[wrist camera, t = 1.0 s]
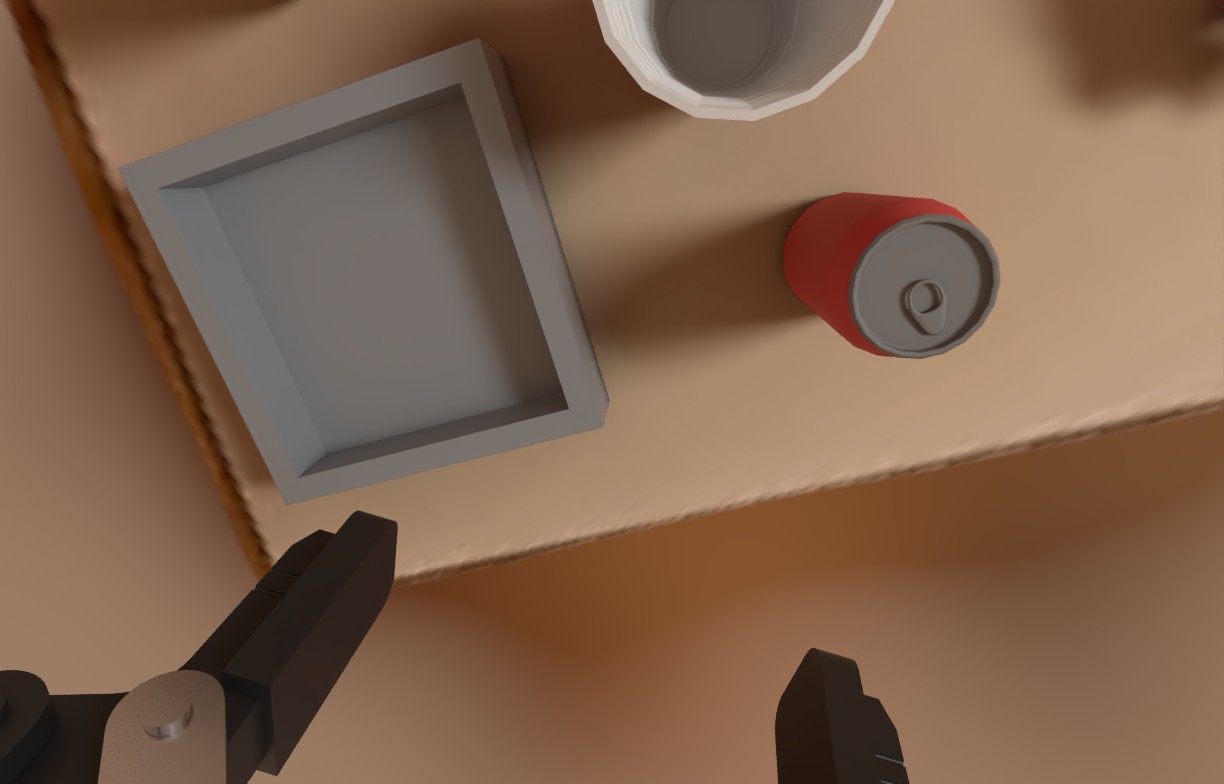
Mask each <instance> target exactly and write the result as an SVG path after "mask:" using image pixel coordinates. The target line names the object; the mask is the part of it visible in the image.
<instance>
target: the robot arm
mask: <svg viewBox="0 0 1224 784" xmlns="http://www.w3.org/2000/svg"><path fill="white" fill-rule="evenodd" d="M397 531H398V526H397V522H396V521H393V520H389V519H386V518H382V517H379V516H376V515H372V514H369V513H366V512H362V511H356V512H354V513H353V514H352V515H351V516H350V517H349V518H348V519H347V521H346V522H345V523H344V524H343V525H342V527H341V528H340V529H339V530H338V531H337V533H336V534H334V533H330V532H327V531H324V530H320V529H319V530H318V531H316V532H314V533H312V534H311V535H309V536H307V537H305V538H304V539H302V540H300V541H298V542H297V543H295V544H293V545H292V546H291V547H290V548H289V549H288V550H287V551H286V552H285V554H284V555H283V556H282V557H281V558H280V559H279V560H278V561H277V563H276V564H275V565H274V566H273V567H272V570H271V571H270V572H269V571H268V573H267V574H266V575H265V576H264V577H263V578H262V579H261V580H260V582H259V583H258V584H257V585H256V588H255V590H251V592H250V593H249V594H248V595H247V596H246V597H245V598H244V599H243V600H242V602H241V603H240V604H239V605H238V606H237V607H236V608H235V609H234V611H233V612H232V613H231V614H230V615H229V616H228V617H227V619H225V621H224V622H223V623H222V624H221V625H220V626H219V627H218V629H217V630H216V631H215V632H214V633H213V634H212V635H211V636H210V637H209V638H208V640H207V641H206V642H205V643H204V644H203V645H202V646H201V647H200V649H199V650H198V651H197V652H196V653H195V654H194V655H193V657H191V659H190V660H188V662H186V663H185V664H184V665H183V666H182V667H181V668H179V669H178V670H177V671H173V672H168V673H165V674H161V675H159V676H156V677H154V678H152V679H149V680H147V681H146V682H144V683H142V684H140V685H139V686H137V687H136V688H134V689H133V690H132V691H130V692H124V693H115V694H80V695H49V692H48V690H47V687H46V685H45V683H44V682H43V681H42V679H41V678H39V677H38V676H36V675H35V674H32V673H29V672H25V671H19V670H5V671H0V784H247V783H248V781H249V780H250V778H251V777H252V775H253V774H254V772H255V771H256V770H259V771H262V772H266V773H269V774H272V775H275V776H277V775H278V774H279V772H280V770H281V769H282V767H283V766H284V764H285V763H286V761H287V759H288V758H289V756H290V755H291V753H292V752H293V750H294V748H295V747H296V745H297V744H298V742H299V740H300V739H301V737H302V736H303V734H304V732H305V731H306V729H307V728H308V726H309V724H310V723H311V721H312V720H313V718H314V716H315V715H316V714H317V712H318V710H319V709H320V707H321V705H322V704H323V702H324V701H325V699H326V698H327V696H328V694H329V693H330V691H331V689H332V688H333V687H334V685H335V683H336V682H337V680H338V679H339V677H340V675H341V674H342V672H343V671H344V669H345V667H346V666H347V664H348V663H349V661H350V660H351V658H352V656H353V655H354V653H355V652H356V650H357V649H358V647H359V645H360V644H361V642H362V641H363V639H364V637H365V636H366V634H367V633H368V631H369V630H370V628H371V626H372V625H373V623H374V622H375V620H376V618H377V617H378V615H379V614H380V612H381V610H382V609H383V607H384V605H385V603H386V601H387V599H388V596H389V594H390V591H391V588H392V584H393V580H394V572H395V558H396V544H397ZM775 739H776V755H777V773H778V784H909V780H908V776H907V772H906V768H905V767H903V762H904V759H903V755H902V751H901V746H900V742H899V738H898V734H897V730H896V728H895V726H894V725H893V723H892V721H891V719H890V718H889V716H888V714H887V713H886V711H885V709H884V708H883V706H882V704H881V703H880V701H879V699H876V698H873V697H870V696H866V695H864V694H863V689H862V684H861V679H860V674H859V670H858V666H857V664H856V662H855V661H854V660H852V659H849V658H846V657H842V656H839V655H836V654H832V653H829V652H826V651H822V650H819V649H816V648H811V649H810V650H809V651H808V652H807V654H806V655H805V657H804V659H803V660H802V662H801V664H800V665H799V667H798V669H797V671H796V672H795V674H794V676H793V677H792V679H791V681H790V683H789V684H788V686H787V688H786V689H785V691H784V693H783V695H782V696H781V699H780V702H779V705H778V709H777V713H776V721H775Z"/></svg>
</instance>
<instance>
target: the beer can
mask: <svg viewBox="0 0 1224 784" xmlns="http://www.w3.org/2000/svg"><path fill="white" fill-rule="evenodd" d="M783 266H784V272H785V277H786V280H787V282H788V284H789V285H790V287H791V289H792V291H793V292H794V294H795V295H796V296H797V297H798V298H799V299H801V300H802V301H803V302H804V303H805V304H806V305H807V306H808V307H810V308H811V309H812V310H813V311H814V312H815V313H816V314H818V315H819V316H820V317H821V318H822V319H823V320H824V321H825V322H827V323H828V324H829V325H830V326H831V327H832V328H833V329H835V330H836V331H837V332H838V333H839V334H840V335H841V336H843V337H844V338H845V339H846V340H847V341H848V342H850V343H851V344H852V345H853V346H854V347H857V348H859V349H862V350H864V351H867V352H870V353H872V354H875V355H879V356H888V357H898V358H913V359H922V358H927V357H931V356H936V355H940V354H944V353H946V352H947V351H949V350H951V349H953V348H955V347H957V346H959V345H960V344H962V343H964V342H965V341H966V340H968V339H969V338H970V337H971V336H972V335H973V334H974V333H975V332H976V331H977V330H978V329H979V328H980V327H981V326H982V325H983V324H984V322H985V320H986V318H987V317H988V315H989V313H990V312H991V310H992V308H993V307H994V305H995V302H996V298H997V293H998V289H999V285H1000V272H999V260H998V257H997V255H996V253H995V251H994V249H993V247H992V245H991V243H990V241H989V239H988V238H987V237H986V236H985V235H984V234H983V233H982V232H981V231H980V230H979V229H978V228H977V227H976V226H975V225H974V224H972V223H971V222H970V221H969V220H968V219H967V218H966V217H965V216H964V215H963V214H962V213H961V212H959V211H958V210H957V209H955V208H953V207H951V206H948V205H946V204H943V203H941V202H938V201H936V200H933V199H926V198H914V197H901V196H889V195H877V194H865V193H846V192H843V193H840V194H836V195H832V196H829V197H825V198H823V199H821V200H820V201H818V202H817V203H815V204H813V205H812V206H810V207H809V208H807V209H806V210H805V211H804V212H803V214H802V215H801V216H800V217H799V218H798V219H797V220H796V221H795V223H794V224H793V226H792V228H791V230H790V232H789V234H788V237H787V239H786V241H785V246H784V253H783Z"/></svg>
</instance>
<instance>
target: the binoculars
mask: <svg viewBox="0 0 1224 784" xmlns="http://www.w3.org/2000/svg"><path fill="white" fill-rule="evenodd" d="M1215 3H1216V4H1217V5H1218V6H1220V7H1222V8H1224V0H1215Z"/></svg>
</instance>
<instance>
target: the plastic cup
mask: <svg viewBox="0 0 1224 784" xmlns="http://www.w3.org/2000/svg"><path fill="white" fill-rule="evenodd" d="M592 1H593V4H594V7H595V10H596V14H597V17H598V20H599V24H600V27H601V30H602V34H603V37H604V40H605V43H606V44H607V45H608V46H609V48H610V49H611V50H612V51H613V53H614V54H615V55H616V56H617V58H618V59H619V60H620V61H621V63H622V64H623V65H624V66H625V68H626V69H627V70H628V72H629V73H630V74H631V75H632V77H633V78H634V79H635V80H636V82H637V83H638V84H639V85H640V87H641V88H642V89H643V90H644V91H646V92H648V93H650V94H652V95H654V96H656V97H657V98H659V99H661V100H663V101H665V102H667V103H669V104H671V105H673V106H674V107H676V108H678V109H680V110H682V111H684V112H686V113H688V114H690V115H691V116H693V117H697V118H713V119H730V120H746V121H756V120H758V119H761V118H764V117H767V116H770V115H772V114H775V113H778V112H781V111H783V110H786V109H789V108H792V107H795V106H797V105H800V104H803V103H806V102H809V101H811V100H814V99H815V98H816V97H817V96H818V95H819V94H821V93H822V92H823V91H824V90H825V89H826V88H827V87H829V86H830V85H831V84H832V83H833V82H834V81H836V80H837V79H838V78H839V77H840V76H841V75H842V74H844V73H845V72H846V71H847V70H848V69H849V68H850V67H852V66H853V65H854V64H855V63H856V62H857V61H859V60H860V59H861V58H862V57H863V56H864V55H865V54H866V52H867V50H868V48H869V47H870V45H871V43H872V41H873V39H874V38H875V36H876V34H877V32H878V30H879V29H880V27H881V25H882V23H883V21H884V20H885V18H886V16H887V14H888V13H889V11H890V9H891V7H892V5H893V4H894V2H895V0H592Z"/></svg>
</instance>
